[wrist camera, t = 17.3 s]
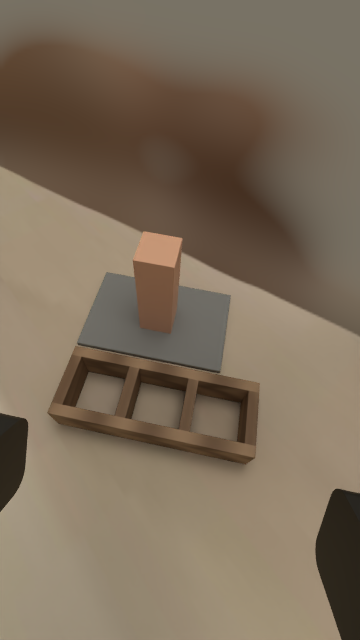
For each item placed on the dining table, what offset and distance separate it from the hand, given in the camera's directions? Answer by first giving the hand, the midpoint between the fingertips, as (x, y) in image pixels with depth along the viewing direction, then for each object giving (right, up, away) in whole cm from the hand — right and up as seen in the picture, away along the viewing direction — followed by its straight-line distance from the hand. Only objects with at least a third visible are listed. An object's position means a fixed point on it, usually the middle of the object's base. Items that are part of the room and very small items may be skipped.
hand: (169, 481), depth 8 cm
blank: (-3, +5, +38) cm, 39 cm away
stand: (-2, -7, +32) cm, 33 cm away
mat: (-3, +4, +39) cm, 39 cm away
